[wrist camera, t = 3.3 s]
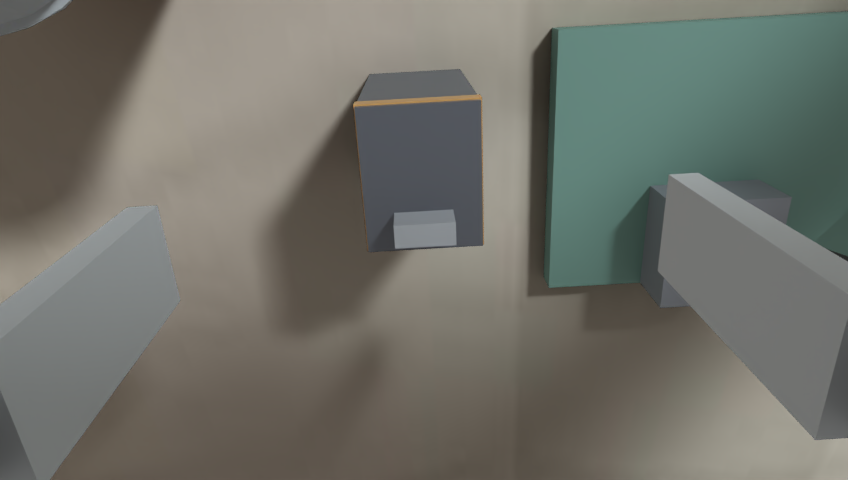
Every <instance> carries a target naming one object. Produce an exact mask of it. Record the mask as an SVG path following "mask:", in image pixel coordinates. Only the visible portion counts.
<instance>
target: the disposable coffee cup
mask: <svg viewBox="0 0 848 480" xmlns="http://www.w3.org/2000/svg"><path fill="white" fill-rule="evenodd" d="M71 2H72V0H0V36H2V35H6V34H9V33H13V32H16V31H20V30H23V29H27V28H29V27H32V26H33V25H35V24H37V23H39V22H41V21H43V20H45V19H46V18H48V17H50V16H52V15H54V14H56V13H58V12H59V11H61V10H63V9H65V8H66V7H67V6H68V5H69V4H70V3H71Z"/></svg>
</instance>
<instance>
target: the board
mask: <svg viewBox="0 0 848 480" xmlns="http://www.w3.org/2000/svg"><path fill="white" fill-rule="evenodd" d="M685 173H700V174H701V175H703V176H705V177H706V178H708V179H710V180H711V181H713V182H715V183H716V184H718V185H720V186H721V187H723V188H725V189H726V190H728V191H730V192H731V193H733V194H735V195H737V196H738V197H740V198H742V199H743V200H745V201H747V202H748V203H750V204H752V205H753V206H755V207H757V208H758V209H760V210H762V211H763V212H765V213H767V214H768V215H770V216H772V217H774V218H775V219H777V220H779V221H780V222H782V223H784V224H785V225H787V226H789V227H790V228H792V229H794V230H795V231H797V232H799V233H800V234H802V235H804V236H805V237H807V238H809V239H811V240H812V241H814V242H816V243H817V244H819V245H821V246H822V247H824V248H826V249H828V250H831V251H834V252H837V253H840V254H843V255H845V256H847V257H848V11H843V12H826V13H808V14H790V15H773V16H755V17H737V18H720V19H702V20H684V21H667V22H649V23H631V24H614V25H596V26H578V27H561V28H552V41H551V72H550V102H549V132H548V163H547V193H546V223H545V254H544V278H545V281H546V283H547V285H548V287H549V288H554V287H572V286H589V285H606V284H623V283H641V284H642V286H643V287H644V288H645V289H646V291H647V292H648V293H649V294H650V296H651V297H652V298H653V299H654V301H655V302H656V303H657V304H658V306H659V307H660V308H667V307H684V306H690V305H689V304H688V303H687V302H686V301H685V300H684V299H683V298H682V296H681V295H680V294H679V293H678V292H677V291H676V290H675V289H674V288H673V287H672V286H671V285H670V284H669V283H668V281H667V280H666V279H665V278H664V277H663V276H662V275H661V274H660V273H659V272H658V263H659V254H660V246H661V237H662V228H663V220H664V211H665V202H666V194H667V185H668V176H669V174H685Z"/></svg>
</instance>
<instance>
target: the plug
mask: <svg viewBox="0 0 848 480" xmlns="http://www.w3.org/2000/svg"><path fill="white" fill-rule="evenodd" d="M353 110H354V120H355V130H356V140H357V150H358V160H359V170H360V180H361V191H362V201H363V211H364V221H365V231H366V241H367V251H368V252H379V251H397V250H414V249H431V248H448V247H466V246H483V244H484V222H483V140H482V97H481V95H480V94H479V95H477V93H476V92H475V90H474V89H473V88H472V86H471V85H470V83H469V82H468V80H467V79H466V77H465V76H464V74H463V73H462V71H461V70H460V69H453V70H436V71H418V72H401V73H383V74H369V77H368V79H367V81H366V83H365V85H364V87H363V90H362V92H361V94H360V96H359V98H358V100H357V101H356V102H354V104H353Z"/></svg>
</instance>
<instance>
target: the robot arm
mask: <svg viewBox="0 0 848 480" xmlns="http://www.w3.org/2000/svg"><path fill="white" fill-rule="evenodd" d="M658 272H659V273H660V274H661V275H662V276H663V277H664V278H665V279H666V280H667V281H668V283H669V284H670V285H671V286H672V287H673V288H674V289H675V290H676V291H677V292H678V293H679V294H680V295H681V296H682V298H683V299H684V300H685V301H686V302H687V303H688V304H689V305H690V306H691V307H692V308H693V309H694V310H695V312H696V313H697V314H698V315H699V316H700V317H701V318H702V319H703V320H704V321H705V322H706V323H707V324H708V325H709V327H710V328H711V329H712V330H713V331H714V332H715V333H716V334H717V335H718V336H719V337H720V338H721V339H722V340H723V342H724V343H725V344H726V345H727V346H728V347H729V348H730V349H731V350H732V351H733V352H734V353H735V354H736V356H737V357H738V358H739V359H740V360H741V361H742V362H743V363H744V364H745V365H746V366H747V367H748V368H749V369H750V371H751V372H752V373H753V374H754V375H755V376H756V377H757V378H758V379H759V380H760V381H761V382H762V383H763V384H764V386H765V387H766V388H767V389H768V390H769V391H770V392H771V393H772V394H773V395H774V396H775V397H776V398H777V400H778V401H779V402H780V403H781V404H782V405H783V406H784V407H785V408H786V409H787V410H788V411H789V412H790V413H791V415H792V416H793V417H794V418H795V419H796V420H797V421H798V422H799V423H800V424H801V425H802V426H803V427H804V428H805V430H806V431H807V432H808V433H809V434H810V435H811V436H812V437H813V438H814V439H815V440H823V439H838V438H848V257H847V256H845V255H843V254H840V253H837V252H834V251H831V250H828V249H826V248H824V247H822V246H821V245H819V244H817V243H816V242H814V241H812V240H811V239H809V238H807V237H805V236H804V235H802V234H800V233H799V232H797V231H795V230H794V229H792V228H790V227H789V226H787V225H785V224H784V223H782V222H780V221H779V220H777V219H775V218H774V217H772V216H770V215H768V214H767V213H765V212H763V211H762V210H760V209H758V208H757V207H755V206H753V205H752V204H750V203H748V202H747V201H745V200H743V199H742V198H740V197H738V196H737V195H735V194H733V193H731V192H730V191H728V190H726V189H725V188H723V187H721V186H720V185H718V184H716V183H715V182H713V181H711V180H710V179H708V178H706V177H705V176H703V175H701V174H700V173H685V174H669V176H668V185H667V194H666V202H665V211H664V220H663V228H662V237H661V246H660V254H659V263H658ZM179 302H180V297H179V293H178V288H177V284H176V280H175V276H174V272H173V268H172V264H171V260H170V256H169V251H168V247H167V243H166V239H165V235H164V231H163V227H162V223H161V219H160V215H159V210H158V206H157V205H156V206H139V207H127V208H125V209H124V210H123V211H122V212H120V213H119V214H118V215H116V216H115V217H114V218H112V219H111V220H110V221H108V222H107V223H106V224H105V225H103V226H102V227H101V228H99V229H98V230H97V231H95V232H94V233H93V234H92V235H90V236H89V237H88V238H86V239H85V240H84V241H82V242H81V243H80V244H78V245H77V246H76V247H75V248H73V249H72V250H71V251H69V252H68V253H67V254H65V255H64V256H63V257H61V258H60V259H59V260H58V261H56V262H55V263H54V264H52V265H51V266H50V267H48V268H47V269H46V270H45V271H43V272H42V273H41V274H39V275H38V276H37V277H35V278H34V279H33V280H31V281H30V282H29V283H28V284H26V285H25V286H24V287H22V288H21V289H20V290H18V291H17V292H16V293H15V294H13V295H12V296H11V297H9V298H8V299H7V300H5V301H4V302H3V303H1V304H0V480H50V479H51V478H52V476H53V475H54V473H55V472H56V471H57V469H58V468H59V467H60V465H61V464H62V462H63V461H64V460H65V458H66V457H67V456H68V454H69V453H70V451H71V450H72V449H73V447H74V446H75V445H76V443H77V442H78V441H79V439H80V438H81V436H82V435H83V434H84V432H85V431H86V430H87V428H88V427H89V425H90V424H91V423H92V421H93V420H94V419H95V417H96V416H97V414H98V413H99V412H100V410H101V409H102V408H103V406H104V405H105V403H106V402H107V401H108V399H109V398H110V397H111V395H112V394H113V392H114V391H115V390H116V388H117V387H118V386H119V384H120V383H121V382H122V380H123V379H124V377H125V376H126V375H127V373H128V372H129V371H130V369H131V368H132V366H133V365H134V364H135V362H136V361H137V360H138V358H139V357H140V355H141V354H142V353H143V351H144V350H145V349H146V347H147V346H148V344H149V343H150V342H151V340H152V339H153V338H154V336H155V335H156V333H157V332H158V331H159V329H160V328H161V327H162V325H163V324H164V323H165V321H166V320H167V318H168V317H169V316H170V314H171V313H172V312H173V310H174V309H175V307H176V306H177V305H178V303H179Z"/></svg>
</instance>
